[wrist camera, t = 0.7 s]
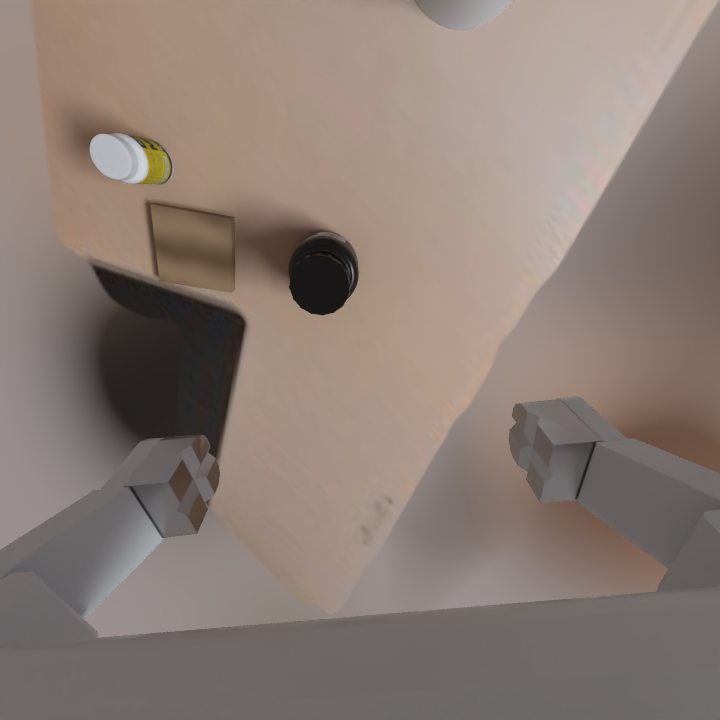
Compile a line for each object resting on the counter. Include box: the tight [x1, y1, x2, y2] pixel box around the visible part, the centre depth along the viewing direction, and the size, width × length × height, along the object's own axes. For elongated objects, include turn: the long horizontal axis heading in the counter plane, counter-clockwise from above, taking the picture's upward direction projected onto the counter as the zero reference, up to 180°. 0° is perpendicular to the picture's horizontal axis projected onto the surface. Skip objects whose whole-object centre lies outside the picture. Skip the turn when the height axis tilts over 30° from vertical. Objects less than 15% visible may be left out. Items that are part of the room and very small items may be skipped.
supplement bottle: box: [90, 133, 174, 184], centre depth 36 cm, size 5×5×8 cm
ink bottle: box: [289, 232, 359, 315], centre depth 41 cm, size 10×9×12 cm
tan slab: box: [150, 203, 235, 292], centre depth 45 cm, size 10×10×2 cm
